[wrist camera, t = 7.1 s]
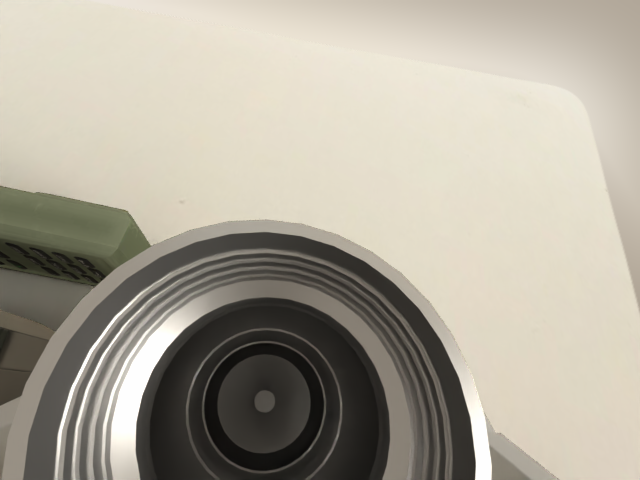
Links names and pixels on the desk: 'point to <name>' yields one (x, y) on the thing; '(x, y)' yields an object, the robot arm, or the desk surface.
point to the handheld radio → (65, 236)
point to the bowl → (19, 352)
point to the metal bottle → (251, 370)
